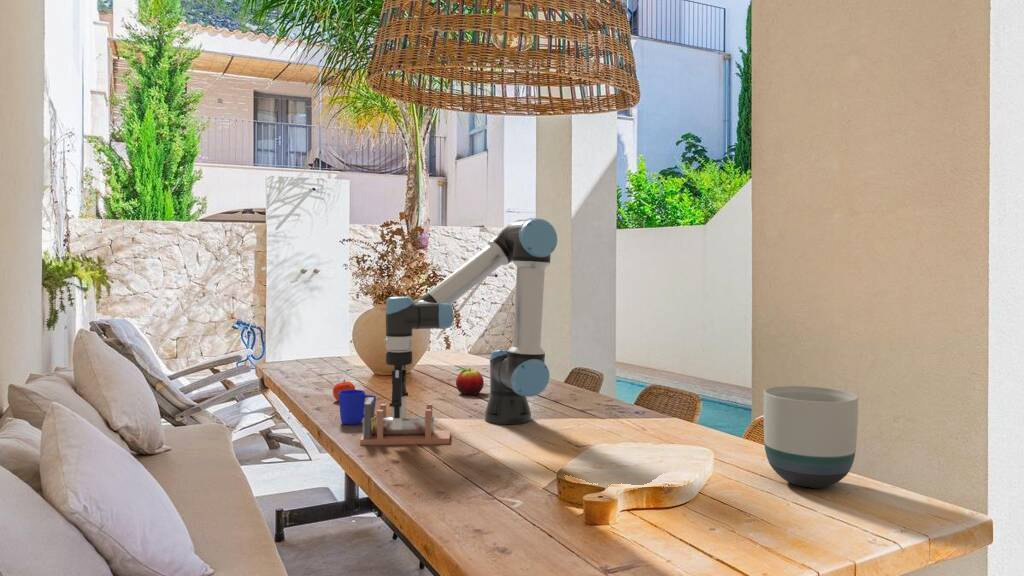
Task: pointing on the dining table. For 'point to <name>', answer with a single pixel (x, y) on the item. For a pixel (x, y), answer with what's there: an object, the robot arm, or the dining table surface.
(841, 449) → the planter
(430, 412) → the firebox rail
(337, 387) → the apple
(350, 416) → the mug
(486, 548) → the dining table surface
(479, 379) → the fruit
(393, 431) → the tube
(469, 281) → the robot arm
